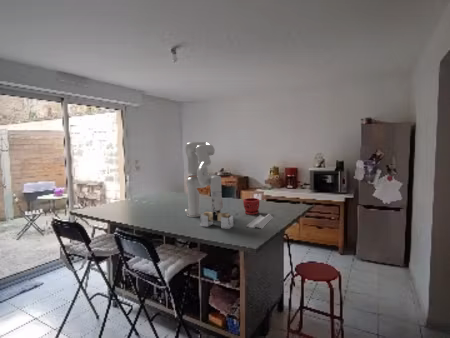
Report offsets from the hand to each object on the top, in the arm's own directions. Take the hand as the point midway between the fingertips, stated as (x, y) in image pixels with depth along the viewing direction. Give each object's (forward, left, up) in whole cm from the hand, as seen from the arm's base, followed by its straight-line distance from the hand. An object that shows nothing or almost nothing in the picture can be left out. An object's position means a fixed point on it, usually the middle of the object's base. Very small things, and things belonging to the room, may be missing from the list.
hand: (216, 219), depth 195 cm
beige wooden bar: (0, 0, -1) cm, 1 cm away
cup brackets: (0, 0, -5) cm, 5 cm away
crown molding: (+26, +20, -6) cm, 33 cm away
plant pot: (+11, +44, -5) cm, 46 cm away
